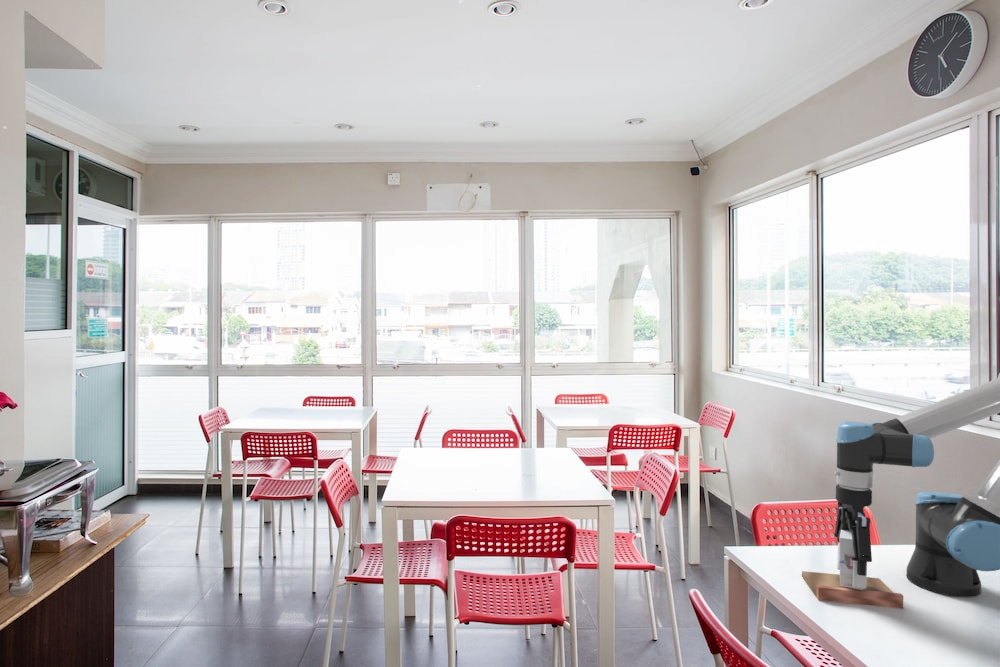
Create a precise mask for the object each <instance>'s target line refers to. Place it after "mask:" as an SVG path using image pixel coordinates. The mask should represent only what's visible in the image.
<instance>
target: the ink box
mask: <svg viewBox="0 0 1000 667" xmlns="http://www.w3.org/2000/svg"><path fill="white" fill-rule="evenodd" d="M838 543H839V559H840V570H839V575H840V586H843V587H848V588H853V589H858V590H863V588H854V587H853V586H852V582H853V560H852V558H853V557H854V558H855V554H854V547H853V539H852V533H851V531H850V530H841V532H840V538H839V542H838Z"/></svg>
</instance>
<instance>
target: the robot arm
mask: <svg viewBox="0 0 1000 667" xmlns="http://www.w3.org/2000/svg"><path fill="white" fill-rule="evenodd" d="M997 414H1000V372H999V373H998V375H997V378H995V379H992V380H989V381H988V382H985V383H982V384H979V385H976V386H975V387H971V388H969V389H966V390H965V391H962V392H959V393H957V394H954V395H952V396H948V397H947V398H944V399H941V400H939V401H937V402H934V403H931V404H928V405H926V406H924V407H921V408H918V409H915V410H913V411H911V412H908V413H906V414H902V415H901V416H898V417H895V418H893V419H890V420H887V421H885V422H872V423H867V422H861V421H860V422H859V421H843V422H840V423H839V424H838V426H837V434H836V435H837V437H836V471H834V472H833V475H835V476H836V480H835V481H836V483H837V485H835V500H836V501H837V512H836V519H835V520H836V521H835V528H834V538H836V541H837V570H839V571H840V559H839V538H840V532H841V530H850V531H851V533H852V539H853V547H854V554H855V558H854V557H853V558H852V560H853V582H852V586H853V587H854V588H864V589H866V584H867V577H868V575H867V574H868V563H872V562H873V561H872V560H873V558H872V545H871V544H872V543H871V542H872V541H871V530H870V528H871V527H870V526H871V519H870V517H866V514H865V511H864V508H866V507H870V506H871V505H872V503H873V491H872V489H871V488H873V482H874V469H873V468H874V467H873V466H874V464H875V465H886V466H887V465H888V466H889V465H890V466H903V467H912V468H923V467H924V468H927V467H930V466H931V465H932V464H933V461H934V457H935V448H934V444H933V442H932V439H933V438H936V437H939V436H941V435H943V434H946V433H949V432H952V431H954V430H956V429H959V428H962V427H965V426H968V425H970V424H973V423H977V422H979V421H982V420H984V419H987V418H989V417H992V416H994V415H997ZM914 505H915V544H914V545H915V546H914V551H913V552H912V554H911V557H910V559H909V562H908V564H907V566H906V574H905V576H906V578H907V580H908V581H909V582H911V583H912V584H915V586H918V587H920V588H922V589H925V590H927V591H930V592H934V593H937V594H941V595H945V596H946V595H947V596H952V597H958V598H973V597H974V598H975V597H977V596H980V595H981V593H982V582H981V579H980V576H979V573H978V571H980V572H993V571H994V572H996V571H1000V459H999V460H998V461H997V462H996V463H995V466H994V467H992V469H991V471H990V472H989V474H988V475H987V476H986V478H985V479H984V480H983V482H982V483H981V485H980V486H979V487H978V489H976V491H975V493H973V494H965V495H964V494H957V493H950V492H943V491H920V492H918V493H917V496H916V501H915V503H914Z"/></svg>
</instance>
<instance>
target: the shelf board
mask: <svg viewBox="0 0 1000 667" xmlns="http://www.w3.org/2000/svg"><path fill="white" fill-rule="evenodd" d="M802 577H803V578H802ZM801 578H802V579H803V581H804V582H805V583H806V585H807V586H808V588H809V589H810V591H811V592H812V593H813V594H814V597H815V598H816V600H818V601H822V602H823V601H825V602H834V603H845V604H853V605H854V604H855V605H862V606H873V607H882V608H883V607H884V608H893V609H902V610H903V609H904V595H903V594H902V593H899V592H894V591H893V590H892V589H890V587H889V586H888V585H887V584H886V583H884V581H882V580H881V578H879V577H869V576H867V584H866V589H864V588H863V590H858V589H853V588H848V587H843V586H840V573H838V574H836V573H824V572H818V571H817V572H816V571H815V572H814V571H807V570H806V571H804V570H802V571H801Z"/></svg>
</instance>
